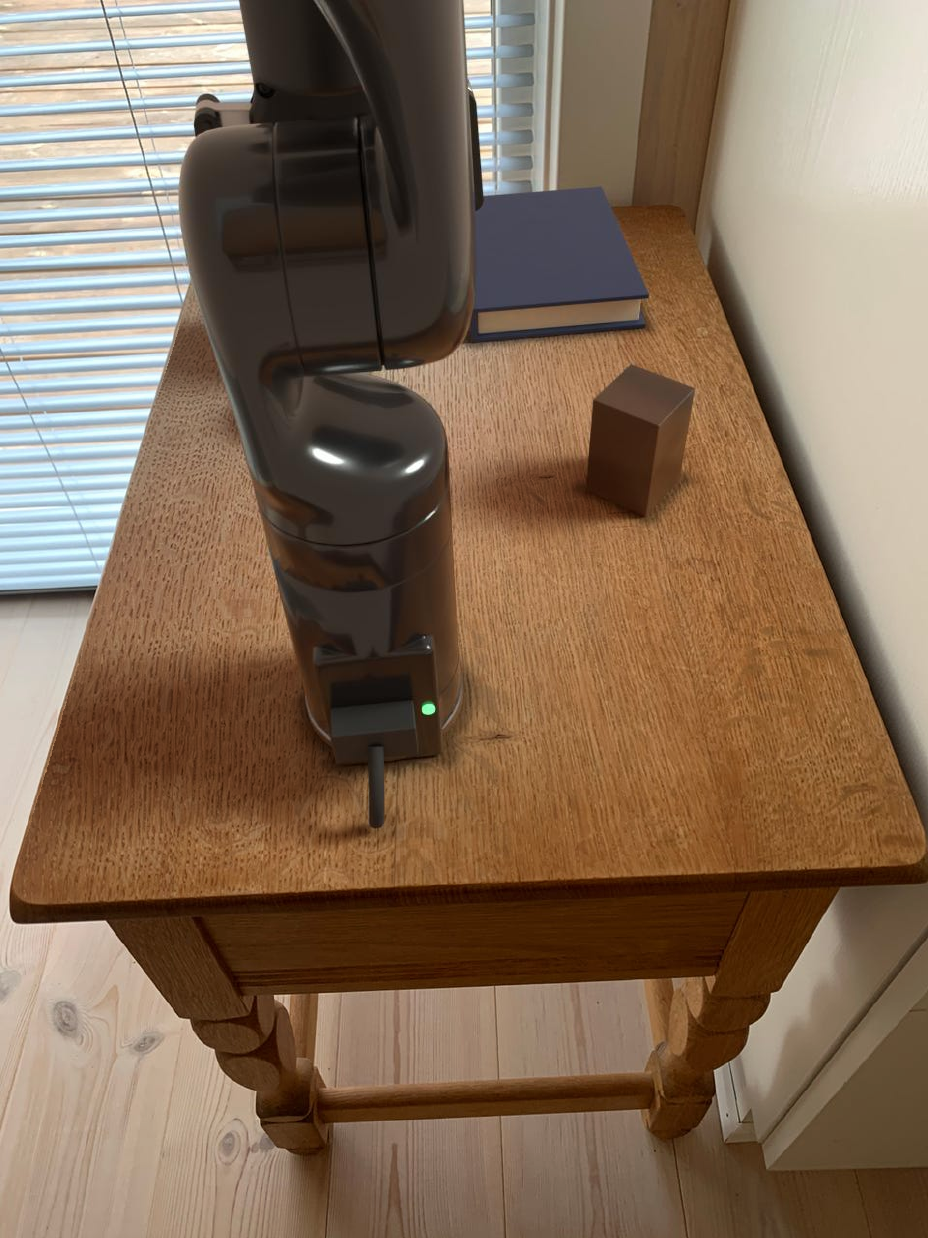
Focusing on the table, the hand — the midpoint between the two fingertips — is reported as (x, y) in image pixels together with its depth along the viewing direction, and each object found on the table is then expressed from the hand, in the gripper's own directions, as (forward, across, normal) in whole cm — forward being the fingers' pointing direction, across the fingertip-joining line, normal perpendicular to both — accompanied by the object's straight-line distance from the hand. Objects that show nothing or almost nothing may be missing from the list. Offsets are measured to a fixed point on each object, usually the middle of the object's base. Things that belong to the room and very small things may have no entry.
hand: (357, 287), depth 56 cm
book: (+19, +17, +31) cm, 40 cm away
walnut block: (+18, +18, +1) cm, 26 cm away
